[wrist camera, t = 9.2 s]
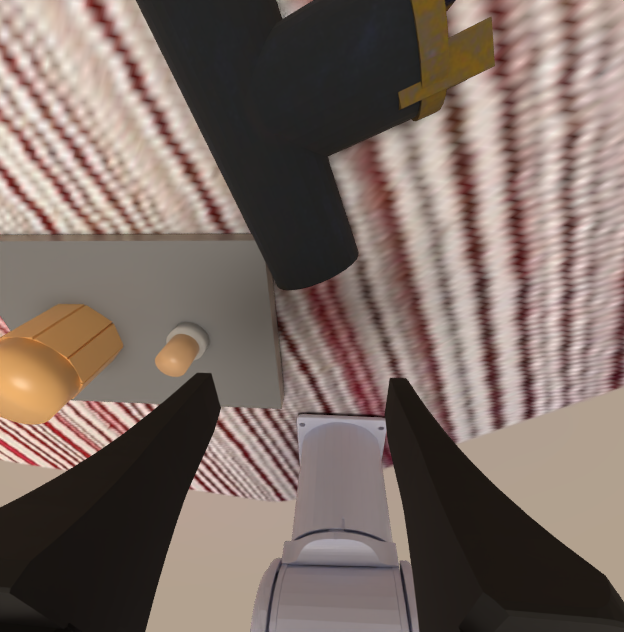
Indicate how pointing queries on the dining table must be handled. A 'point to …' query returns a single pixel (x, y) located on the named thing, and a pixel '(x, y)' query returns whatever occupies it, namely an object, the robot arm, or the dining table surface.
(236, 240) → the board
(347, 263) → the pipe connector
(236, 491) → the dining table surface
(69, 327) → the wire cap
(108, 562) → the robot arm
